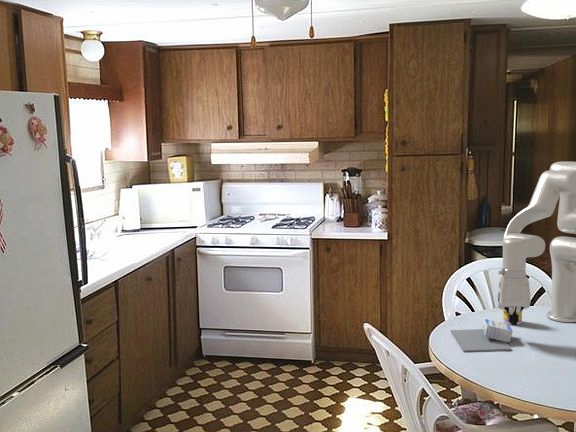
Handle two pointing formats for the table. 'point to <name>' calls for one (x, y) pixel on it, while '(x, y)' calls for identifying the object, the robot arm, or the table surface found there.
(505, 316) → the supplement bottle
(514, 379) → the table surface
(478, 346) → the mat
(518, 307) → the robot arm
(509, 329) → the medicine box
